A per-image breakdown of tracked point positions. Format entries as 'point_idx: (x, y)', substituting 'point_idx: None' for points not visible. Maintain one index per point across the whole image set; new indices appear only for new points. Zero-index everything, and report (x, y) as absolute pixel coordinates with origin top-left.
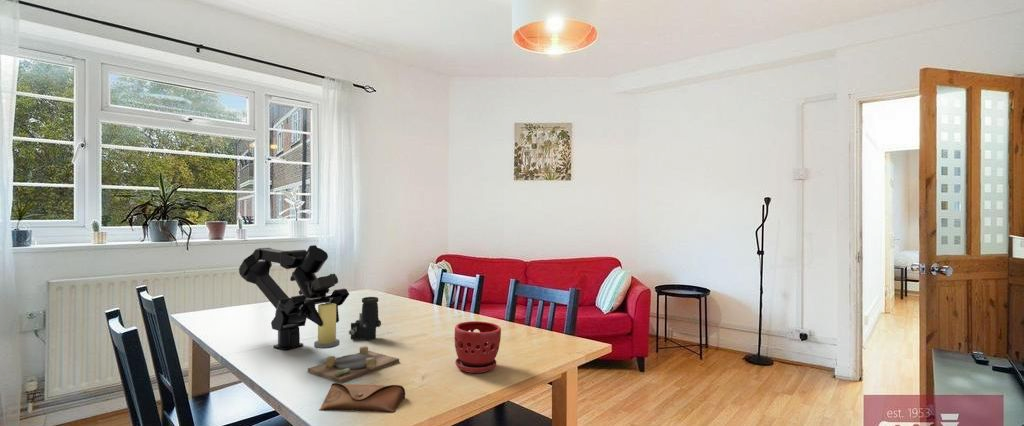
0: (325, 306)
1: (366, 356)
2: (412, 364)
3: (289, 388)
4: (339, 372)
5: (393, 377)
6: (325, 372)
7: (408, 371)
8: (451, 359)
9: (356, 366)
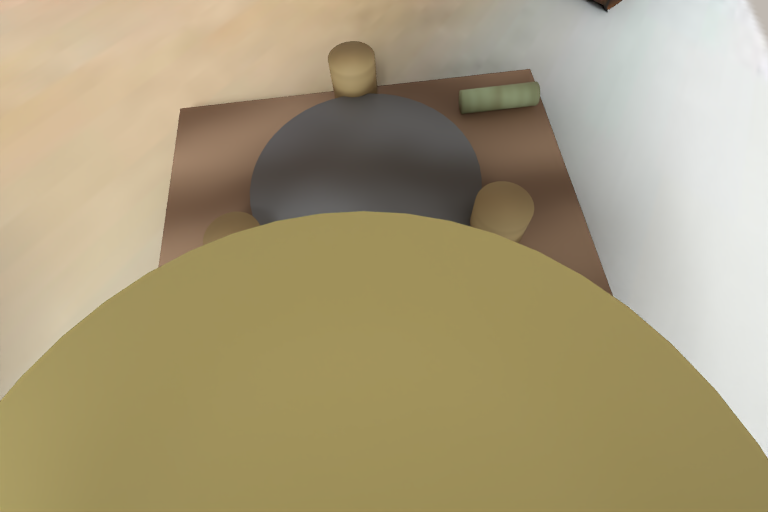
0: (576, 319)
1: (285, 183)
2: (180, 70)
3: (738, 163)
4: (521, 83)
5: (338, 17)
6: (551, 175)
7: (256, 27)
8: (48, 23)
9: (415, 103)
